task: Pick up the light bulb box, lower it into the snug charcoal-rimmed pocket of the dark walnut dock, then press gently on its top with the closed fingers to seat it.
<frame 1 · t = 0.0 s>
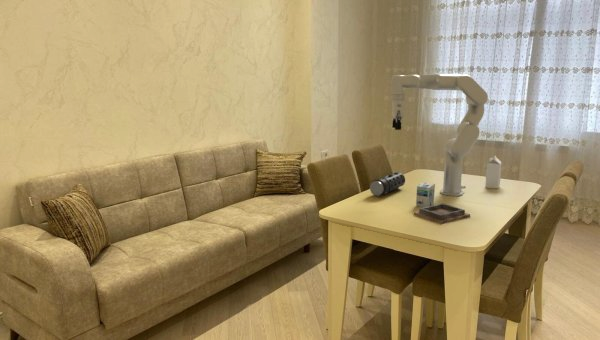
hand: (396, 128, 245), 37 cm above the table, tool pointing down, fingers open, 9 cm apart
dock: (441, 216, 210), on the table
milk carton: (492, 187, 265), on the table
muzzle brake: (387, 193, 253), on the table
light bulb box: (424, 205, 229), on the table
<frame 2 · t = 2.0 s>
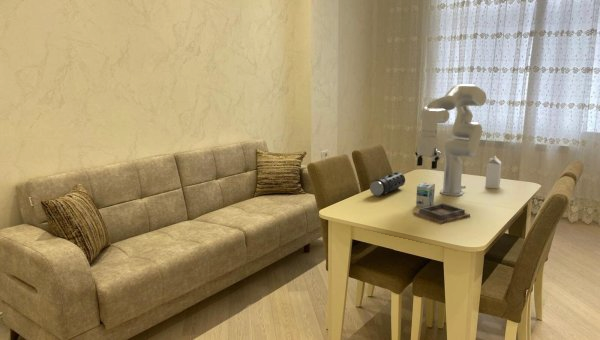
hand: (426, 167, 225), 20 cm above the table, tool pointing down, fingers open, 9 cm apart
nothing on the table moved.
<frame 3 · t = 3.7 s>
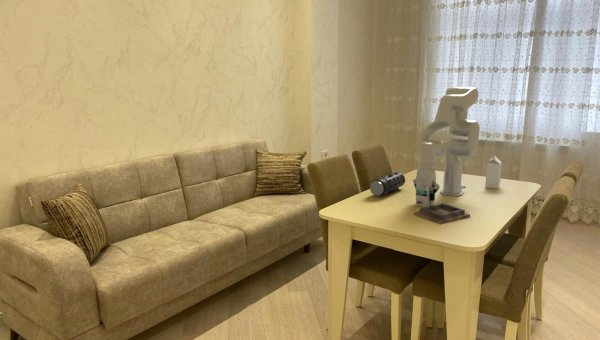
hand: (425, 198, 228), 3 cm above the table, tool pointing down, fingers closed on light bulb box, 9 cm apart
light bulb box: (424, 205, 229), on the table, touching gripper
everything else where it was.
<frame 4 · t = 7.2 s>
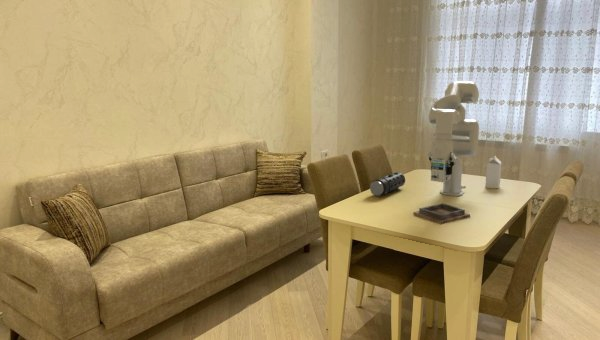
hand: (441, 172, 209), 21 cm above the table, tool pointing down, fingers closed on light bulb box, 8 cm apart
light bulb box: (440, 180, 210), point 17 cm above the table, touching gripper
everything else where it was.
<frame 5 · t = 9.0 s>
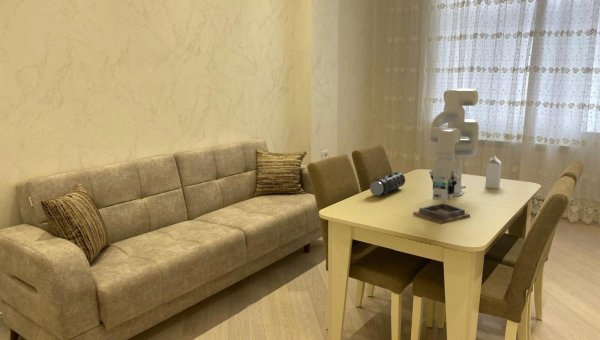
hand: (443, 191, 208), 12 cm above the table, tool pointing down, fingers closed on light bulb box, 8 cm apart
light bulb box: (442, 198, 208), point 9 cm above the table, touching gripper
everything else where it was.
when the fingers open (7 cm above the table, at t = 10.6 s): light bulb box drops 3 cm, resting on dock.
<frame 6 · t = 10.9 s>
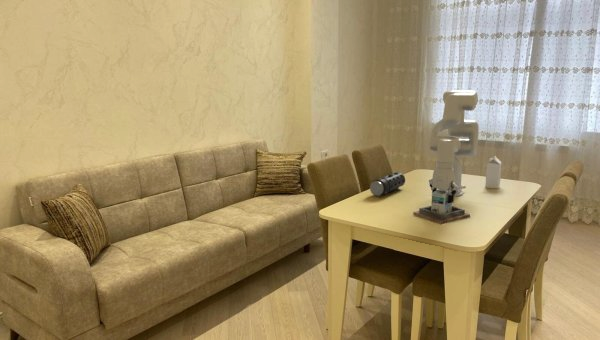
hand: (442, 200, 209), 8 cm above the table, tool pointing down, fingers open, 9 cm apart
light bulb box: (441, 213, 210), point 1 cm above the table, touching dock, gripper
everything else where it was.
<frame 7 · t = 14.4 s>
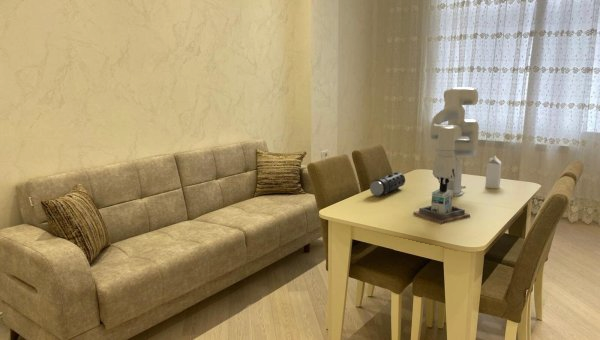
hand: (443, 191, 208), 12 cm above the table, tool pointing down, fingers closed
light bulb box: (441, 213, 210), point 1 cm above the table, touching dock
everything else where it was.
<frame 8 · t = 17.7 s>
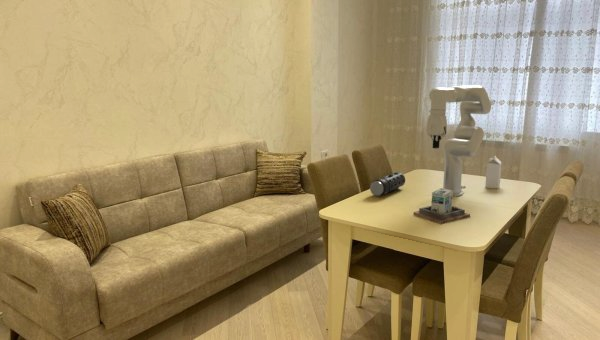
hand: (435, 148, 229), 29 cm above the table, tool pointing down, fingers closed
nothing on the table moved.
at the end: light bulb box 0.5 cm off-centre on the dock, point 1.3 cm above the dock's base; light bulb box tilted 0°; the gripper is holding nothing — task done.
